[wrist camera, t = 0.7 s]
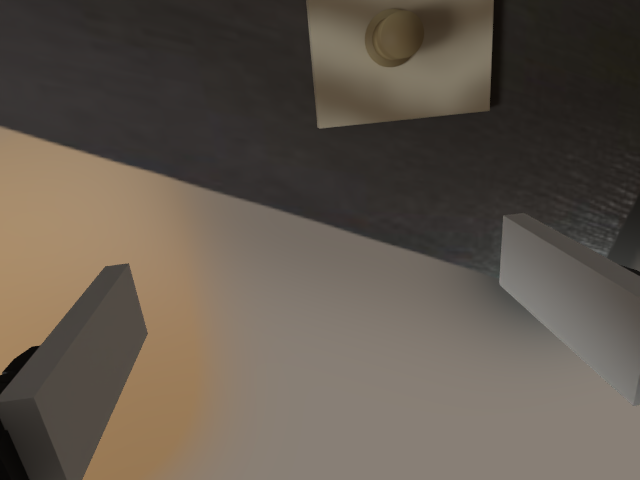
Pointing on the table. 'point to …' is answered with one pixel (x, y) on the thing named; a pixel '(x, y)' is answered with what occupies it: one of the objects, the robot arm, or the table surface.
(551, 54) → the table surface
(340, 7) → the socket base
